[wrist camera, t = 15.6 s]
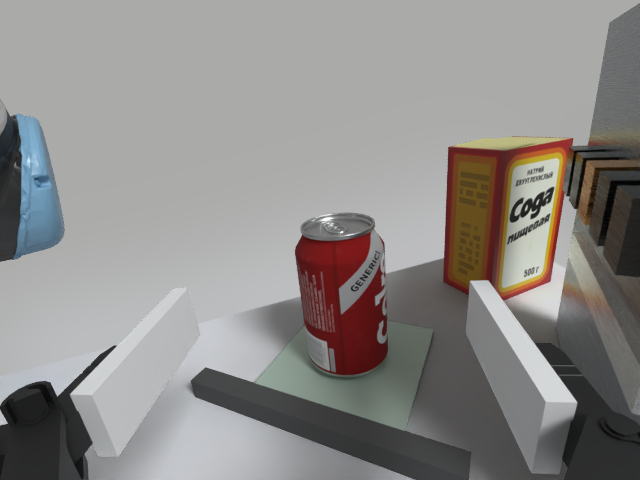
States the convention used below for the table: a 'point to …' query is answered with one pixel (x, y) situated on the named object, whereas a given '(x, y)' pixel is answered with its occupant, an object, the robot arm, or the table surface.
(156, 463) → the table surface
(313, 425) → the bar
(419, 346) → the mat
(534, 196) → the baking soda box
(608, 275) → the breaker panel
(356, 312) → the soda can
